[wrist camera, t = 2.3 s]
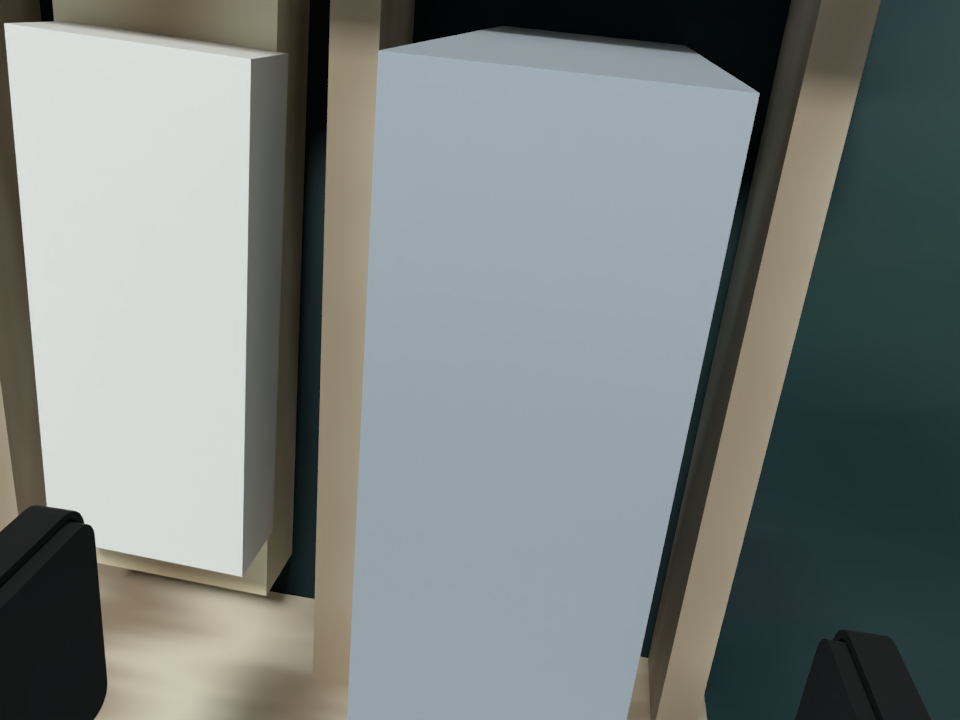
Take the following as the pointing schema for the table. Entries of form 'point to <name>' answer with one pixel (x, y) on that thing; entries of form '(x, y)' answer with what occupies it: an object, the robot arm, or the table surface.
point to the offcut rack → (327, 619)
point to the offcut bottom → (282, 28)
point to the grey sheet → (531, 362)
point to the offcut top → (153, 282)
